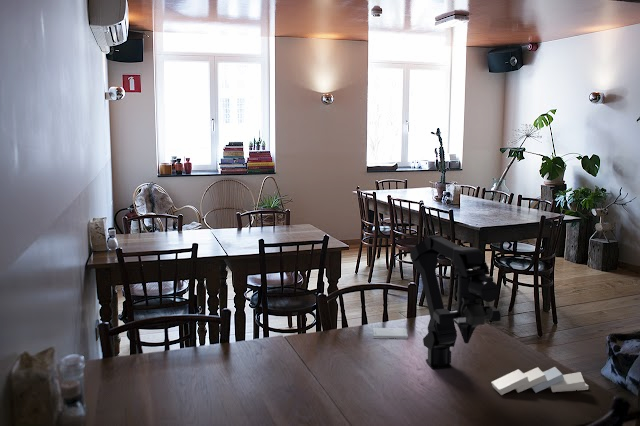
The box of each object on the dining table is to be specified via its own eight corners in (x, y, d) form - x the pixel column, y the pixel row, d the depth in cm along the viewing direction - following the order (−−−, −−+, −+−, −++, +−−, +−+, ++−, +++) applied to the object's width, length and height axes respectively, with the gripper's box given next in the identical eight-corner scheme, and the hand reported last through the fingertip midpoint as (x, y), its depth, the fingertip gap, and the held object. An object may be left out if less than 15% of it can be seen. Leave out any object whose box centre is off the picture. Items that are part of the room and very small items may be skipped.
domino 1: (499, 389, 157) (527, 376, 158) (491, 382, 162) (518, 369, 163) (501, 395, 158) (529, 381, 159) (493, 387, 163) (520, 374, 163)
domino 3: (533, 387, 159) (562, 374, 158) (526, 379, 163) (555, 366, 163) (535, 392, 159) (564, 379, 158) (529, 384, 164) (557, 371, 163)
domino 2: (515, 387, 159) (544, 374, 158) (509, 379, 164) (537, 367, 163) (518, 392, 159) (547, 380, 159) (511, 384, 164) (539, 372, 164)
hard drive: (373, 335, 201) (407, 335, 200) (372, 327, 209) (406, 327, 208) (373, 339, 201) (407, 340, 200) (372, 331, 209) (406, 331, 208)
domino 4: (550, 386, 158) (584, 381, 155) (548, 377, 163) (580, 372, 160) (552, 392, 158) (585, 387, 156) (549, 382, 163) (582, 377, 160)
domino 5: (559, 387, 159) (588, 385, 160) (549, 380, 164) (578, 378, 165) (558, 393, 160) (588, 391, 161) (549, 385, 164) (578, 383, 165)
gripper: (447, 302, 151) (445, 356, 154) (511, 298, 154) (509, 351, 156) (433, 290, 162) (432, 341, 165) (493, 286, 165) (491, 337, 167)
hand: (466, 343), depth 163 cm, fingers closed
